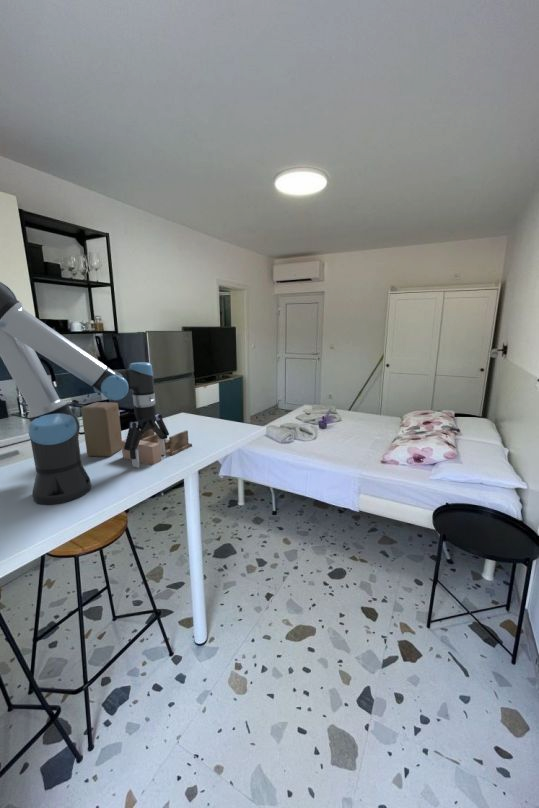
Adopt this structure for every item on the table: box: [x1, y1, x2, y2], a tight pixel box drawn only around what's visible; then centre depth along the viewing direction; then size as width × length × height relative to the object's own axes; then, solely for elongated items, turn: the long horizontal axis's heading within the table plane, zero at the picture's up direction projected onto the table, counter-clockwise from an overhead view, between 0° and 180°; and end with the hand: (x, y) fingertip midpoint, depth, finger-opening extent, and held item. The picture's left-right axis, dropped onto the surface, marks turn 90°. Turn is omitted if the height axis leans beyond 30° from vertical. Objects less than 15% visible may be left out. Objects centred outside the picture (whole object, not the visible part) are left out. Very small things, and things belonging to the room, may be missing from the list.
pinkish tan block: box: [121, 438, 162, 466], centre depth 127 cm, size 4×16×7 cm, turn 64°
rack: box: [140, 429, 193, 456], centre depth 140 cm, size 12×22×7 cm, turn 64°
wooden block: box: [80, 401, 123, 458], centre depth 132 cm, size 10×10×20 cm
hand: (149, 460), depth 126 cm, fingers open, 12 cm apart
